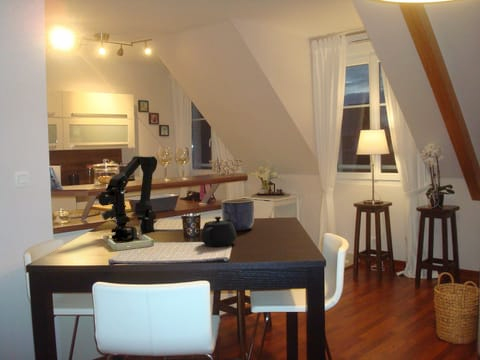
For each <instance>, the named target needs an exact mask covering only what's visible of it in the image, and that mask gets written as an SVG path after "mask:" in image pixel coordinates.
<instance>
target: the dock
mask: <svg viewBox="0 0 480 360" xmlns="http://www.w3.org/2000/svg"><path fill="white" fill-rule="evenodd" d="M142 235H143V233H142V232H141V231H137V236H136V238H137V239H139V240H142ZM108 239H110V235H102V240H103V241H104V242H105V243H106V244H108Z"/></svg>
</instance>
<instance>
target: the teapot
mask: <svg viewBox="0 0 480 360" xmlns="http://www.w3.org/2000/svg"><path fill="white" fill-rule="evenodd" d="M221 218H222V216H215V217H214V219H215V220H212V221H207V222H204V224H203V227H202V229H201V234H200V240H201V242H202V243H203V244H204V245H206V246H208V247H214V248H216V247H217V248H219V247H227V246H231V245H232V244H233V243H234V242H235V241H236V240H237V237H238V236H237V231H235V229H234V226H233V225H232V223H231V222H230V221H231V218H229V219H228V220H227V221H223V220H221Z"/></svg>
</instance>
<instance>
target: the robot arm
mask: <svg viewBox="0 0 480 360" xmlns="http://www.w3.org/2000/svg"><path fill="white" fill-rule="evenodd" d="M139 167H140V169H141V172H142V180H141V181H142V182H141V190H140V199H139V201H138V202H135V206H134V208H135V209H134V211H135V216H136V217H137V220H138V221H139V232H141V234H143V233H152V232H155V231H156V230H155V225H154V223H155V222H154V221H155V220H157V214H156V213H155V212H154V211H153V205H152V202H151V194H152V193H151V192H152V185H153V184H152V183H153V175H154V172H155V171H156V170H157V167H158V159H157V157H156V156H153V155H152V156H151V155H150V156H142V155H135V156H133V157H132V158H131V160H130V161H129V162H128V163H127V165H125V167H124V168H123V169H122V170H121V171H120V172H119V173H118V174H115V175H114V176H112V177H111V178H110V179H109V181H108V185H107V186H106V189H105V190H102V191H101V192H100V194H99V196H98V198H97V199H98V200H97V201H98V204H99V205H100V206H102V207H104V206H105V207H106V206H111V208H110V209H108V210H104V211H103V212H101V213H100V214H101V217H102V219H103V220H104V221H107V220H108V219H111V220H112V222H113V223H114V224H115V225H116V226H126V225H127V224H128V223H130V222H131V219H130V217H129V216H128V215H127V212H126V208H127V205H126V199H125V197H126V196H125V194H127V193H128V191H127V190H126V189H125V188H126V187H127V185H128V184H129V178H131V176H132V175H133V174H134V173H135V171H137V169H138V168H139ZM113 219H114V220H113Z"/></svg>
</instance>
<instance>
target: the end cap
mask: <svg viewBox="0 0 480 360" xmlns="http://www.w3.org/2000/svg"><path fill="white" fill-rule="evenodd" d="M110 232H111V233H113V234H112V235H111V240H112V241H113V242H115V243H128V242H134V241H135V239H136V238H137V237H136V236H137V232H138V230H137V227H135V226H117V225H116V226H115V228H112V229H111V230H110Z"/></svg>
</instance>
